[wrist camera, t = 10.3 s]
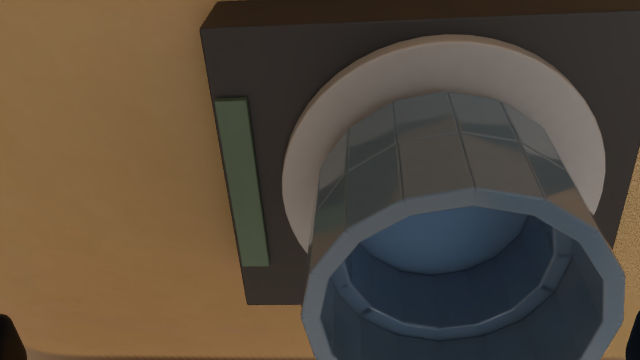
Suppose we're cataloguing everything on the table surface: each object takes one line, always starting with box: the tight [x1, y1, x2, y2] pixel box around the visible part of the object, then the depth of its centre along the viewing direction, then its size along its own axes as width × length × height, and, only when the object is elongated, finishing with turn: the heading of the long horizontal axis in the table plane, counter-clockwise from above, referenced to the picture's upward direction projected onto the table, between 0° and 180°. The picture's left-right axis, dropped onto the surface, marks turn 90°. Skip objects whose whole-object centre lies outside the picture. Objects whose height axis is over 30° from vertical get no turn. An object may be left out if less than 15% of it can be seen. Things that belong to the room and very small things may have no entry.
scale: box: [199, 0, 640, 305], centre depth 19 cm, size 12×10×3 cm
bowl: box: [301, 91, 625, 360], centre depth 15 cm, size 7×7×5 cm
